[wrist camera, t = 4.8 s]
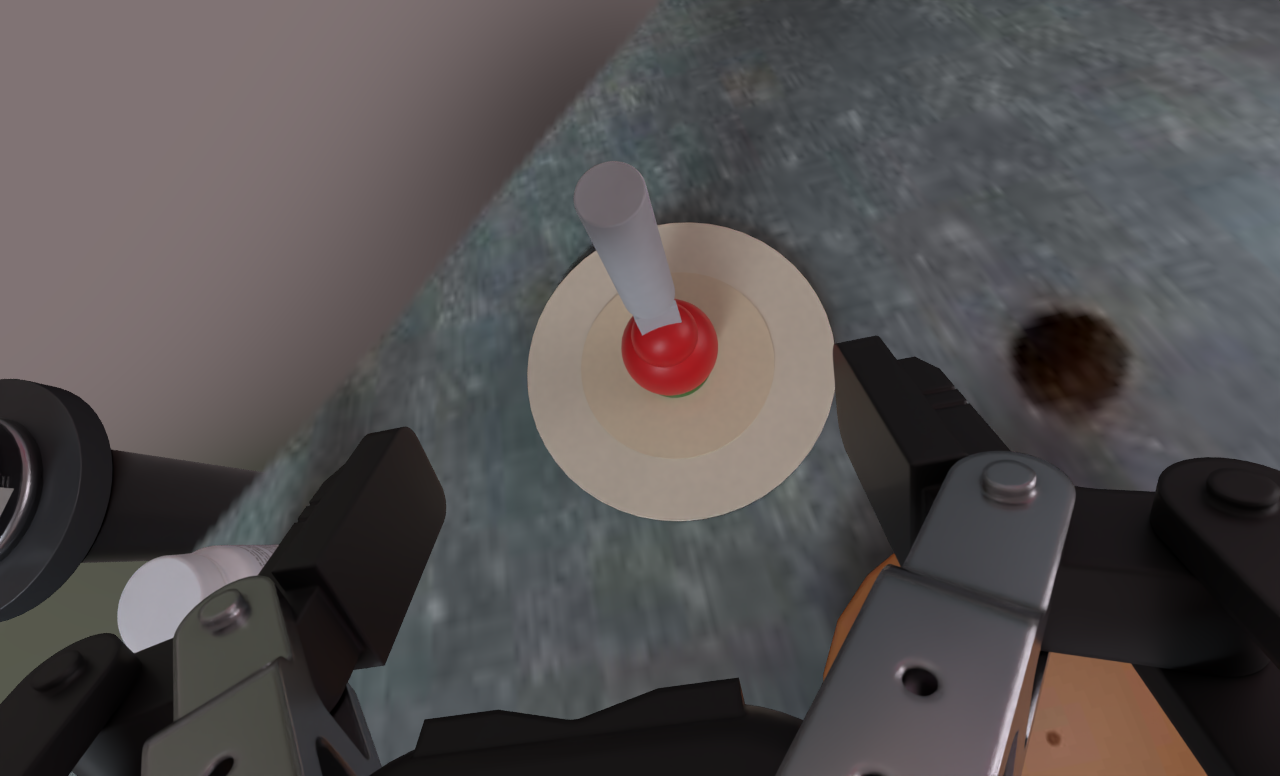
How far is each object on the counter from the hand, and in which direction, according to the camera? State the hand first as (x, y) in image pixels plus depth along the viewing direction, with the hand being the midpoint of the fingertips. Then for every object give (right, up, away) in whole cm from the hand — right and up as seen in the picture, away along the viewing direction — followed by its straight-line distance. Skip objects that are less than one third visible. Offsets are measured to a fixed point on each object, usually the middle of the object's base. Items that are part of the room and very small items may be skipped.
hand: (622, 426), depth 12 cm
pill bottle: (-18, -10, +22) cm, 30 cm away
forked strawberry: (+2, +2, +20) cm, 20 cm away
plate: (+2, +2, +21) cm, 21 cm away
